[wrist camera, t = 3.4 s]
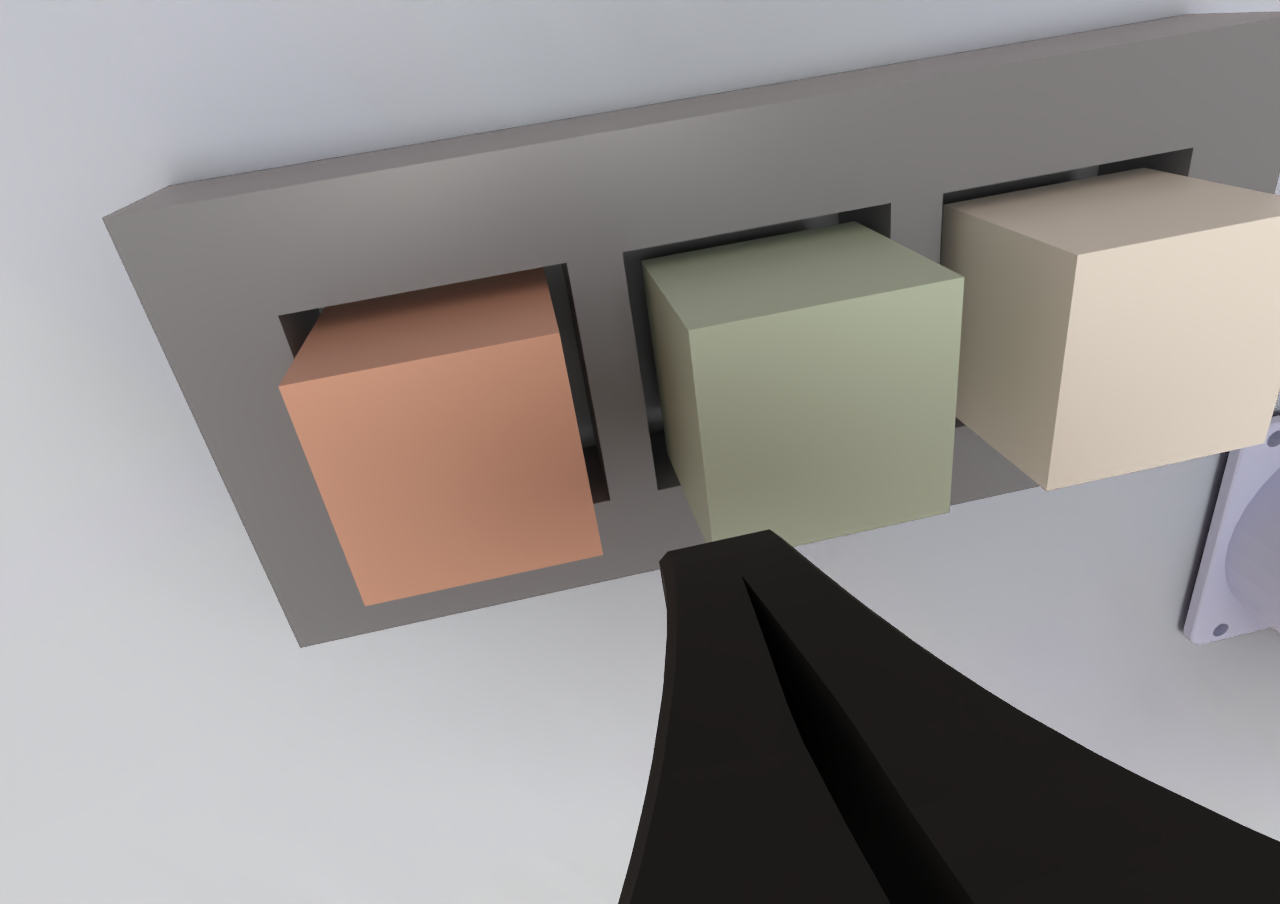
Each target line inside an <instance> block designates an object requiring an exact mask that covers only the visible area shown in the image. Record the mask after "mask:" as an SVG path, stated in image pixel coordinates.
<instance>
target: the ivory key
mask: <svg viewBox="0 0 1280 904" xmlns="http://www.w3.org/2000/svg"><path fill="white" fill-rule="evenodd" d="M940 265H942V266H944V267H946V268H948V269H950V270H952V271H954V272H956V273H958V274H960V275H962V276H963V277H964V293H963V308H962V324H961V340H960V356H959V371H958V387H957V403H956V418H958V419H959V420H960V421H961V422H962V423H964V424H965V425H966V426H967V427H969V428H970V429H971V430H972V431H973V432H975V433H976V434H977V435H978V436H980V437H981V438H982V439H983V440H984V441H986V442H987V443H988V444H989V445H991V446H992V447H993V448H994V449H995V450H997V451H998V452H999V453H1000V454H1002V455H1003V456H1004V457H1005V458H1006V459H1008V460H1009V461H1010V462H1011V463H1013V464H1014V465H1015V466H1016V467H1017V468H1019V469H1020V470H1021V471H1022V472H1024V473H1025V474H1026V475H1027V476H1028V477H1030V478H1031V479H1032V480H1033V481H1035V482H1036V483H1037V484H1038V485H1039V486H1041V487H1042V488H1043V489H1044V490H1046V491H1049V490H1054V489H1058V488H1063V487H1068V486H1072V485H1077V484H1081V483H1086V482H1090V481H1095V480H1099V479H1104V478H1109V477H1113V476H1118V475H1122V474H1127V473H1131V472H1136V471H1140V470H1145V469H1150V468H1154V467H1159V466H1163V465H1168V464H1172V463H1177V462H1181V461H1186V460H1191V459H1195V458H1200V457H1204V456H1209V455H1213V454H1218V453H1222V452H1227V451H1232V450H1236V449H1241V448H1245V447H1250V446H1254V445H1259V444H1263V443H1265V440H1266V436H1267V433H1268V429H1269V426H1270V422H1271V419H1272V415H1273V412H1274V408H1275V404H1276V401H1277V397H1278V394H1279V390H1280V195H1275V194H1270V193H1265V192H1260V191H1255V190H1251V189H1246V188H1241V187H1236V186H1231V185H1226V184H1221V183H1216V182H1211V181H1207V180H1202V179H1197V178H1192V177H1187V176H1182V175H1177V174H1172V173H1168V172H1163V171H1158V170H1153V169H1148V168H1139V169H1133V170H1128V171H1122V172H1117V173H1112V174H1106V175H1101V176H1095V177H1090V178H1085V179H1079V180H1074V181H1068V182H1063V183H1058V184H1052V185H1047V186H1041V187H1036V188H1031V189H1025V190H1020V191H1014V192H1009V193H1003V194H998V195H993V196H987V197H982V198H976V199H971V200H966V201H960V202H955V203H949V204H944V205H943V221H942V242H941V263H940Z"/></svg>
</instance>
